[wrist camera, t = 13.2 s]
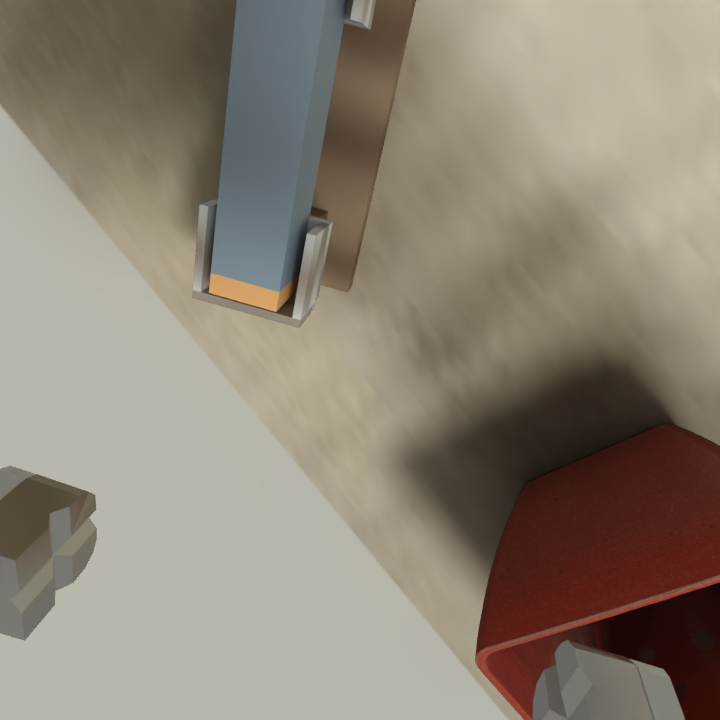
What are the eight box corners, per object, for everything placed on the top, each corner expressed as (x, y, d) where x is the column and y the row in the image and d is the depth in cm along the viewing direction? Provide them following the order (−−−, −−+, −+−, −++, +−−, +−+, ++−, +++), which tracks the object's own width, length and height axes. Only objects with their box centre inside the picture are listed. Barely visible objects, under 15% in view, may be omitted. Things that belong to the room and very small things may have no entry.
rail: (285, -136, 24) (253, -178, 21) (368, -117, 24) (351, -156, 20) (236, 273, 33) (208, 292, 30) (296, 290, 33) (276, 311, 29)
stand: (279, -103, 30) (201, -191, 21) (431, -68, 30) (415, -145, 21) (238, 255, 40) (172, 296, 31) (351, 286, 39) (317, 337, 31)
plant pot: (804, 548, 42) (991, 792, 27) (577, 618, 49) (625, 840, 34) (699, 364, 37) (855, 535, 22) (466, 472, 45) (465, 655, 30)
